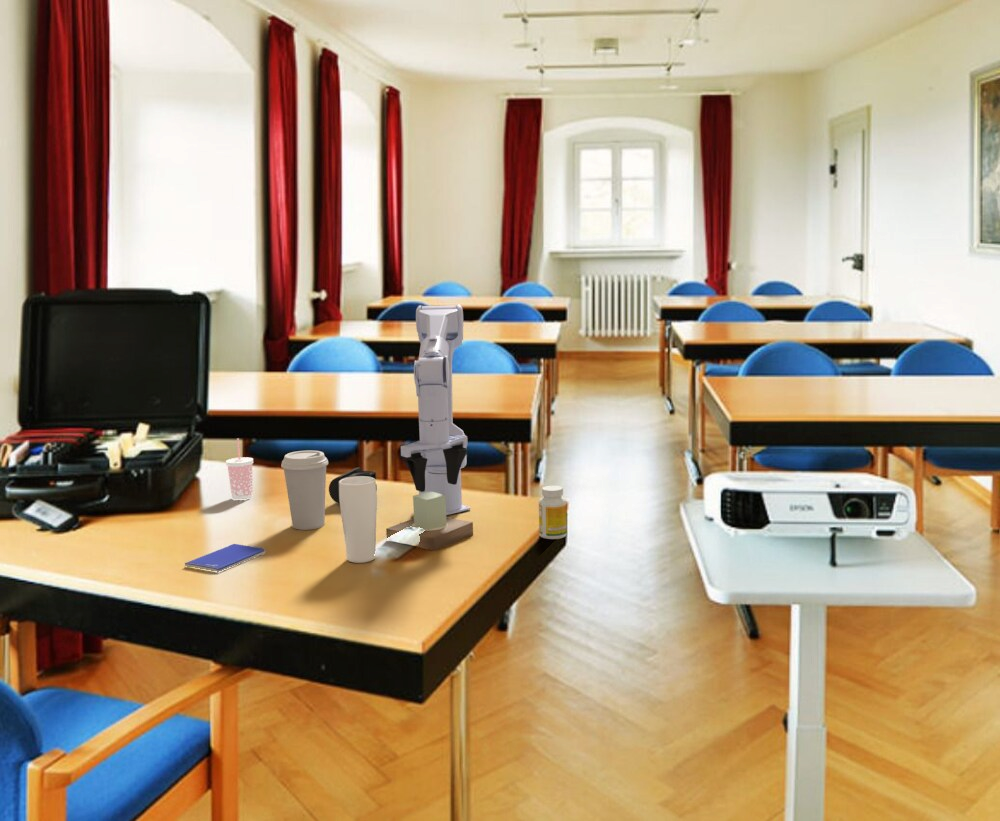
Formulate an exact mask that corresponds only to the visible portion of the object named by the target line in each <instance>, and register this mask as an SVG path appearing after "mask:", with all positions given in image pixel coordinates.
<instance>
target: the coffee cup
mask: <svg viewBox="0 0 1000 821" xmlns="http://www.w3.org/2000/svg"><path fill="white" fill-rule="evenodd" d="M328 465H329V460H328V458H327V457H326V456H325V453H324V451H320V450H298V451H292V452H289V453H287V454H285V455H284V458H283V460H281V465H280V466H281V468H282V469H283V473H284V479H285V484H286V485H285V486H286V491H287V492H286V493H287V499H288V506H289V510H290V511H289V512H290V517H291V518H290V519H291V524H292V528H293V529H295V530H301V531H307V530H315V529H320V528H322V527H324V526H325V523H326V522H325V520H326V518H325V517H326V516H325V515H326V486H327V485H326V484H327V481H326V480H327V466H328Z"/></svg>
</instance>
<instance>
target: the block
mask: <svg viewBox="0 0 1000 821" xmlns="http://www.w3.org/2000/svg"><path fill="white" fill-rule="evenodd" d="M412 502H413V518H414V525H415V526H418V527H421V528H423V529H426V530H430V529H434V528H438V527H442V526H446V525H447V523H446V518H447V515H446V498H445V495H442V494H439V493H435V492H432V491H431V492H427V493H423V494H419V493H417V494H414V495H412Z"/></svg>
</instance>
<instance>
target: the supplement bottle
mask: <svg viewBox="0 0 1000 821" xmlns="http://www.w3.org/2000/svg"><path fill="white" fill-rule="evenodd" d="M541 489H542V490H541V495H542V496H543V497H540V499H539V501H538V529H539V531H538V533H539V536H540V537H541V538H543V539H547V540H559V539H562V538H565V537H566V536H567V534H568V531H567V530H568V526H567V524H568V523H567V521H568V520H567V516H568V515H567V512H568V511H567V505H568V504H567V500H566V498H565V497H563V495H564V488H563V486H560V485H546V486H543V487H542V488H541Z"/></svg>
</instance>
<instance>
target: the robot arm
mask: <svg viewBox="0 0 1000 821" xmlns="http://www.w3.org/2000/svg"><path fill="white" fill-rule="evenodd" d="M463 310H464V309H463V306H462V305H461V304H459V303H458V304H456V305H454V304H453V305H452V304H451V305H450V304H449V305H447V304H446V305H421V304H420V305H418V306H417V308H416V310H415V326H416V328H415V329H416V333H417V336H418V340H419V343H420V348H419V355H418V360H414V362H413V363H414V364H413V378H414V380H413V381H414V384H415V392H416V393H415V394H416V397H417V404H418V407H417V408H418V427H419V428H418V430H419V440H417V441H414V442H412V443H409V444H405V445H401V446H400V456H401V457H402V460H403V461H404V463H405V465H406V467H407V468H408V470H409V472H410V474H411V477H412V480H413V483H414V487H415V490H416V491H418V494H423V493H427V492H431V491H432V492H435V493H439V494H442V495H445V498H446V516H450V515H453V514H457V513H461V512H466V511H470V510H471V506H467V505H465V504H463V502H462V501H463V499H462V474H461V473H462V470H461V469H463V468H465V467H466V466H467V457H468V454H467V453H468V449H467V447H468V444H469V443H468V436H467V435H466V434H465V433H464V430H463V429H461V428H460V427H458V426H457V425H456V424H455V423H453V422H454V421H453V356H454V354H455V349H457V348H459V347H460V346H462V345H463V340H464V311H463Z"/></svg>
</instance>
